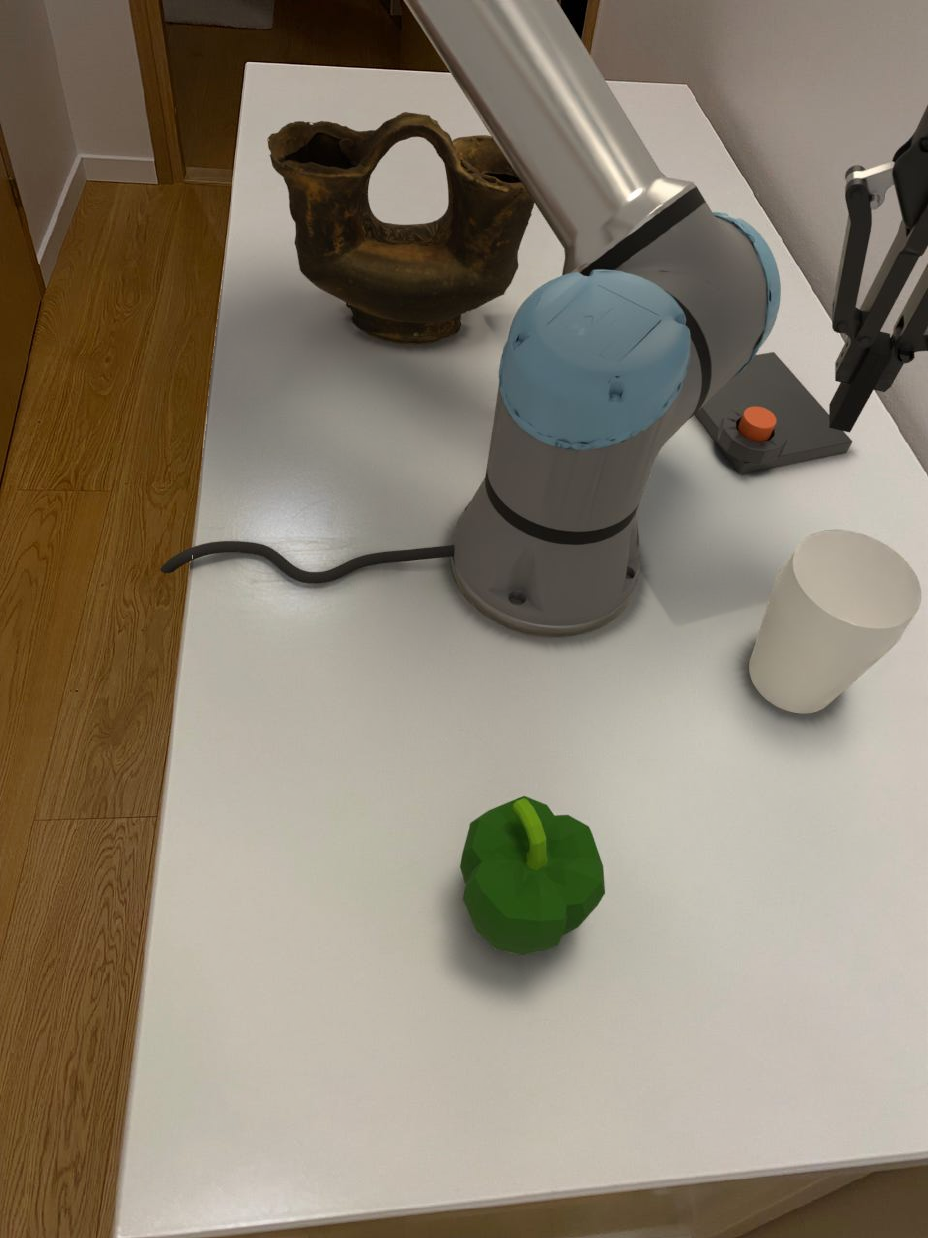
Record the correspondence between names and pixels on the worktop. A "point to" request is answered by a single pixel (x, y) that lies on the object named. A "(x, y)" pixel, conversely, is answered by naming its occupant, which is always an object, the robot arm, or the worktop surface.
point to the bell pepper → (529, 876)
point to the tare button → (757, 424)
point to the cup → (831, 618)
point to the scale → (793, 406)
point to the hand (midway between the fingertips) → (839, 418)
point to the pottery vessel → (401, 226)
